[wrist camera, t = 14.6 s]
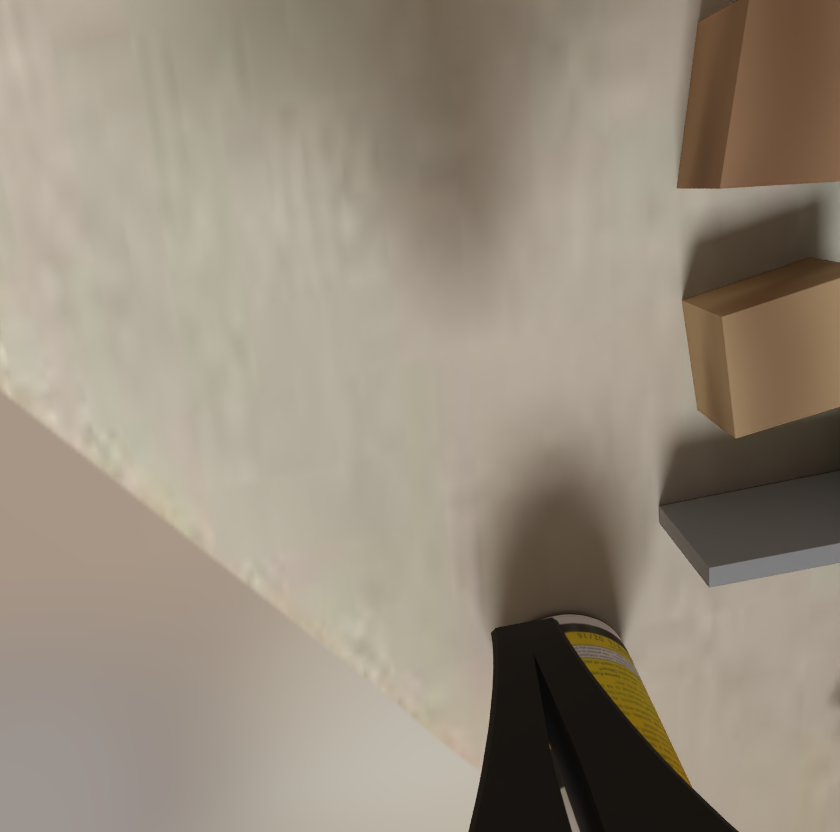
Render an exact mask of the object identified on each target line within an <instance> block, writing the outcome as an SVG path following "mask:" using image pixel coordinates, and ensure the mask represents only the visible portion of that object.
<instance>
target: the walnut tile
mask: <svg viewBox="0 0 840 832" xmlns="http://www.w3.org/2000/svg"><path fill="white" fill-rule="evenodd" d="M835 181H840V0H737V1H736V2H734V3H732V4H730V5H728V6H727V7H725V8H723V9H721V10H719V11H718V12H716V13H714V14H712V15H711V16H709V17H707V18H705V19H703V20H702V21H700V22H698V26H697V34H696V42H695V50H694V58H693V65H692V73H691V81H690V89H689V97H688V105H687V113H686V121H685V129H684V137H683V144H682V152H681V160H680V168H679V176H678V184H677V188H717V189H720V188H736V187H753V186H769V185H786V184H802V183H819V182H835Z"/></svg>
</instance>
